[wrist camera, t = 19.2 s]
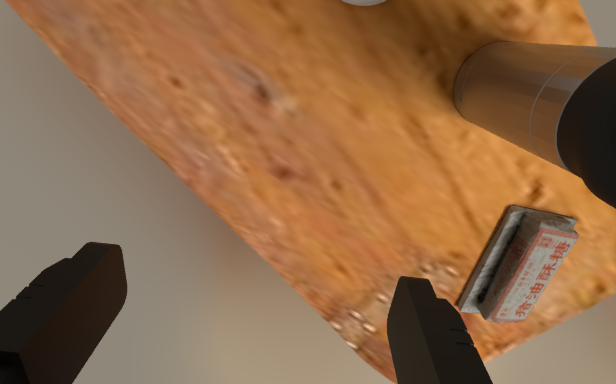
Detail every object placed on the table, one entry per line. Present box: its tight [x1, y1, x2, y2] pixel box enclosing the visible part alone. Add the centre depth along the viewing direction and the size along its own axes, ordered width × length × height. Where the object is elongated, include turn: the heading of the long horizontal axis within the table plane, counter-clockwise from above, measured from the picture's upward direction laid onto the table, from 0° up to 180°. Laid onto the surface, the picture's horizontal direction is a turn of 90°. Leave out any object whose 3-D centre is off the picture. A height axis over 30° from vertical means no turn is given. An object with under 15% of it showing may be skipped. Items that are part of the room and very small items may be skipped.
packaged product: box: [458, 205, 579, 324], centre depth 50 cm, size 18×5×10 cm
